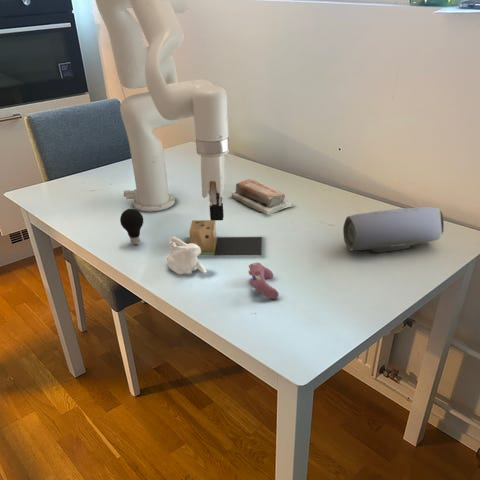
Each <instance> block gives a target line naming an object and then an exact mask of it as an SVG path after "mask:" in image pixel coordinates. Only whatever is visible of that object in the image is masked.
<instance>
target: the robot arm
mask: <svg viewBox="0 0 480 480" xmlns="http://www.w3.org/2000/svg"><path fill="white" fill-rule="evenodd" d="M95 3H96V7H97V9H98V12H99V14H100V17H101V19H102V21H103V23H104V25H105V27H106V30H107V33H108V37H109V40H110V45H111V50H112V55H113V60H114V64H115V70H116V71H117V72H116V73H117V76H118V80H119V82H120V84H121V85H122V87H124V88H125V89H128V90H129V89H130V90H134V89H142V88H147V90H148V91H146V92H141V93H136V94H135V93H134V94H132V95H129V96H127V97H125V98H123V100H122V101H121V103H120V105H119V106H120V107H119V112H120V116H121V117H120V118H121V120H122V124H123V126H124V130H125V133H126V136H127V140H128V145H129V151H130V158H131V163H132V169H133V176H134V182H135V188H136V189H133V190H129V189H128V190H127V189H126V190H123V196H124V198H125V199H126V200H133V207H134V209H136V210H138V211H142V212H160V211H164V210H167V209H169V208H171V207H173V206H174V205H175V203H176V201H175V197H174V196H173V195H172V194H170V192H169V183H168V176H167V175H168V174H167V168H166V167H167V166H166V158H165V152H164V145H163V143H162V141H161V139H160V138H159V137H158V136H157V135H156V134H155V133H154V130H156V129H160V128H165V127H170V126H173V125H176V124H178V123H180V122H181V121H182V119H187V118H191V117H193V122H194V135H195V136H194V137H195V147H196V154H197V155H198V156H200V177H201V179H200V180H201V197H202V198H203V199H206V198H207V197H208V199H209V200H208V201H209V206H208V207H209V220H212V221H213V220H215V221H224V214H225V213H224V202H223V195H224V191H225V185H226V184H225V182H226V163H225V162H226V161H225V159H226V158H225V155H227V154H229V152H230V139H229V137H230V136H229V118H228V117H229V116H228V115H229V114H228V95H227V91H226V89H225V88H224V87H222V86H220V85H215V84H213V83H212V82H210V81H209V80H207V79H205V78H198V79H197V78H196V79H192V80H184V81H179V78H178V71H177V65H176V61H175V59H174V56H173V54H174V53H175V52H177V51H178V50H179V49H180V48H181V46H182V45H183V43H184V40H185V33H184V29H183V28H182V25H181V22H180V21H179V18H178V16H177V14H184V13H185V12H187V11H188V9H189V8H190V5H191V0H95ZM128 9H132V10H133V13H134V15H135V16H134V15H133V14H132V13H131V12H130V11H129V10H128ZM135 17H136V18H135ZM143 36H144V37H145V39H146V43H147V44H148V46H146V45H145V41H144V37H143Z"/></svg>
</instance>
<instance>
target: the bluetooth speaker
mask: <svg viewBox="0 0 480 480" xmlns="http://www.w3.org/2000/svg"><path fill="white" fill-rule="evenodd" d="M444 226H445V225H444V215H443V212H442V211H441V209H440V208H439V207H436V206H420V207H405V208H394V209H393V208H392V209H385V210H378V211H370V212H364V213H356V214H352V215H348V216H346V218H345V220H344V223H343V228H342V233H343V241H344V244H345V246H346V247H347V249H348V250H349V251H361V250H362V251H363V250H369V251H371V252H375V253H380V252H381V253H382V252H391V251H398V250H404V249H405V250H406V249H409V248H410V247H411V246H413V245H414V246H415V245H419V244H424V243H430V242H434V241H438V240H439V239H441V238H442V236H443V233H444Z"/></svg>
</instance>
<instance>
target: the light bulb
mask: <svg viewBox="0 0 480 480" xmlns="http://www.w3.org/2000/svg"><path fill="white" fill-rule="evenodd" d="M119 221H120V222H119V223H120V226H121V227H122V229H124V230H125V231H126V232H127V235H128V237H129V239H130V243H131V244H132V245H134V246H138V244H140V243H141V238H140V235H141V229H142V228H143V225H144V216H143V214H142V213H141V212H140V210H138V209H136V208H127V209H125V210H123V212H122V213H121V215H120V218H119Z"/></svg>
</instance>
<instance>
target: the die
mask: <svg viewBox="0 0 480 480" xmlns="http://www.w3.org/2000/svg"><path fill="white" fill-rule="evenodd" d="M188 233H189V238H190V242H191V243H194V244H196V245H198V246H199V247H200V249H201V252H215V248H216V242H217V237H218V236H217V220H213V221H212V220H211V219H201V220H200V219H199V220H197V219H196V220H195V219H193V220H191V224H190V227H189V232H188Z"/></svg>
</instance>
